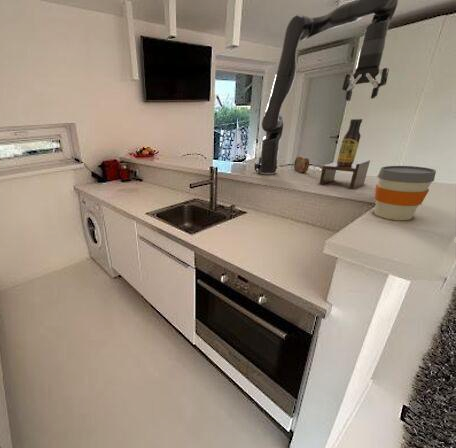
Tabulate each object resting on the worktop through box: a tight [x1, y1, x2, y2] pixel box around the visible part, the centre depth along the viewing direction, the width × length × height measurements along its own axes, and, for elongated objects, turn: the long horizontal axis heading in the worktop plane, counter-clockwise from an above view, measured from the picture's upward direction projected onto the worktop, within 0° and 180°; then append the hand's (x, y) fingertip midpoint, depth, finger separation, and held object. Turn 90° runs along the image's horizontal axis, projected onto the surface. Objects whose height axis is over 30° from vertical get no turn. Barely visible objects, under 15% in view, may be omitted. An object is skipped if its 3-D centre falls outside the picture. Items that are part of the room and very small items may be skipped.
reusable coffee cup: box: [374, 165, 437, 221], centre depth 77 cm, size 12×13×15 cm
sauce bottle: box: [336, 118, 363, 166], centre depth 110 cm, size 7×6×20 cm
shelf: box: [318, 159, 371, 190], centre depth 115 cm, size 14×12×11 cm
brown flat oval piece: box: [293, 155, 310, 173], centre depth 147 cm, size 15×3×8 cm, turn 172°
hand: (360, 99), depth 104 cm, fingers open, 8 cm apart
